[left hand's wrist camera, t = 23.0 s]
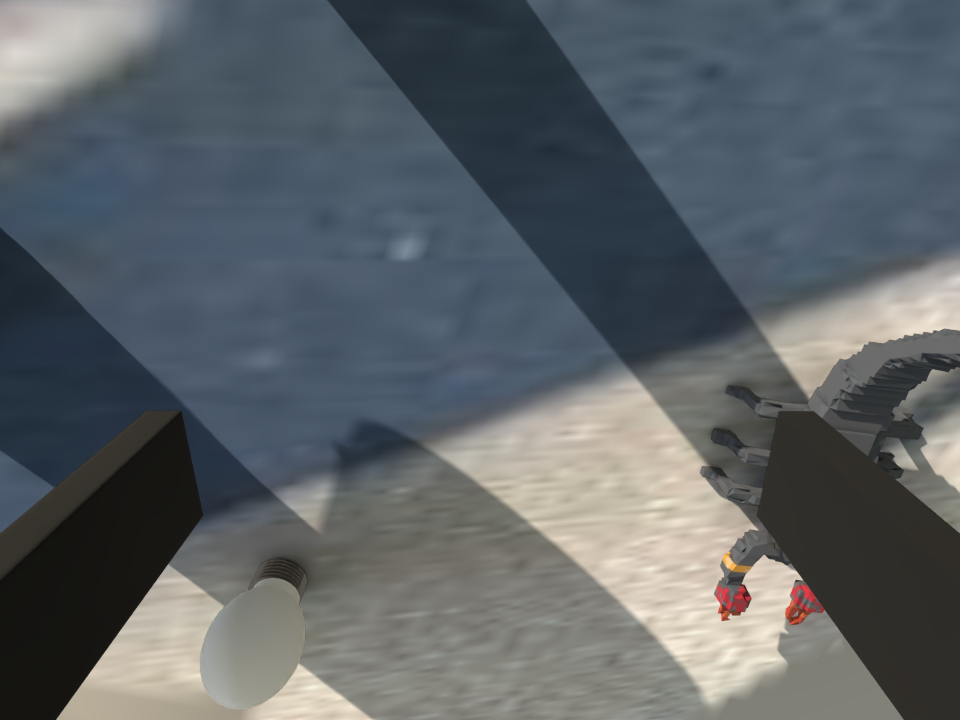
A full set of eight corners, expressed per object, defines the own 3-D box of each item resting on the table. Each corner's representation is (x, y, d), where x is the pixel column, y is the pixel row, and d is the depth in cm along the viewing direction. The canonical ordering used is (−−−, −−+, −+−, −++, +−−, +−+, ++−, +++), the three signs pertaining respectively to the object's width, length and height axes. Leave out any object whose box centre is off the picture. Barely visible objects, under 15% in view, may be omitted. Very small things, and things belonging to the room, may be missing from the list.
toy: (962, 288, 39) (1341, 411, 22) (821, 598, 48) (1007, 852, 31) (768, 260, 38) (1002, 365, 21) (664, 580, 48) (767, 830, 31)
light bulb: (227, 583, 48) (159, 706, 38) (269, 529, 46) (208, 643, 36) (298, 621, 49) (251, 749, 39) (341, 570, 47) (303, 692, 37)
